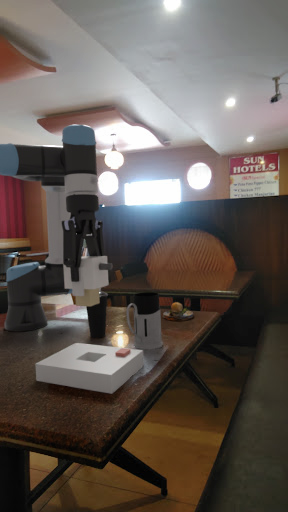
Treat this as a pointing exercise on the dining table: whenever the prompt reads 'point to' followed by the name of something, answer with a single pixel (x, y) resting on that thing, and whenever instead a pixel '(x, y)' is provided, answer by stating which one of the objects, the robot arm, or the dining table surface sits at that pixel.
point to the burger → (178, 313)
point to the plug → (90, 278)
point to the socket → (90, 367)
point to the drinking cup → (98, 316)
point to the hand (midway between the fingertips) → (87, 292)
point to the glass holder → (146, 320)
